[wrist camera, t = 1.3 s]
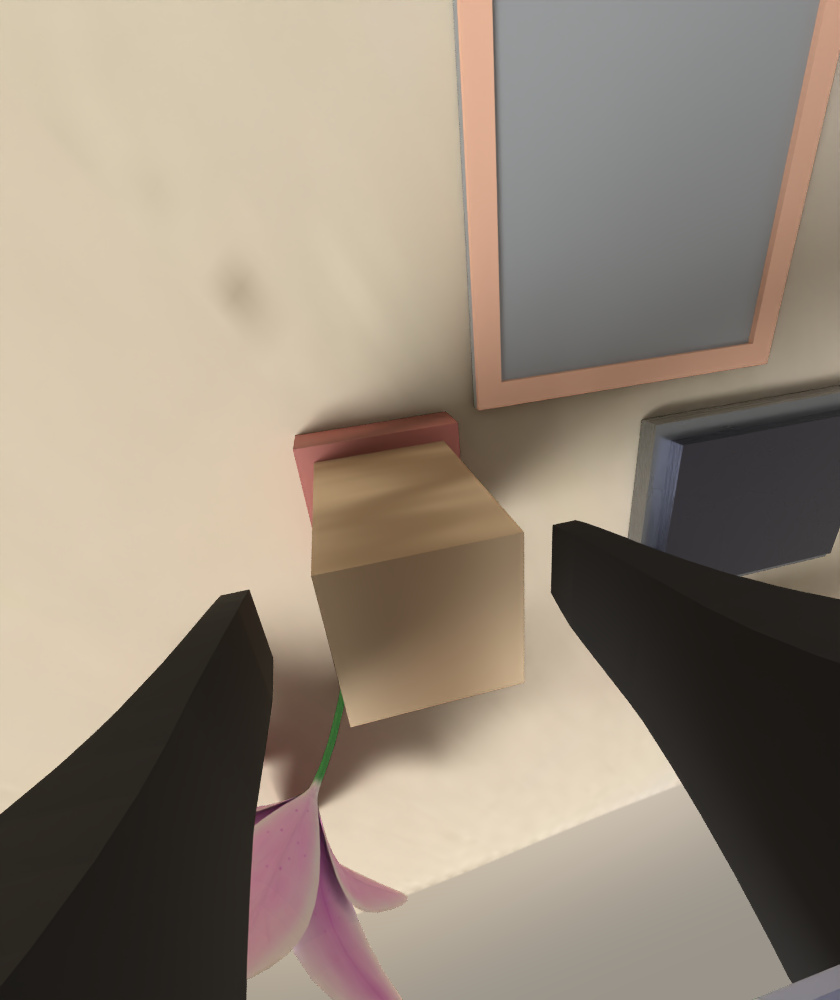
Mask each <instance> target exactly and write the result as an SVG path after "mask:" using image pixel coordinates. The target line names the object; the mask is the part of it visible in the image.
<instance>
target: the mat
mask: <svg viewBox="0 0 840 1000" xmlns="http://www.w3.org/2000/svg"><path fill="white" fill-rule="evenodd" d="M453 10H454V29H455V49H456V68H457V87H458V106H459V125H460V144H461V163H462V182H463V201H464V220H465V240H466V259H467V278H468V297H469V316H470V335H471V354H472V373H473V392H474V407H475V408H476V409H478V410H485V409H492V408H498V407H504V406H510V405H516V404H522V403H528V402H535V401H541V400H547V399H553V398H559V397H565V396H571V395H578V394H584V393H590V392H596V391H602V390H608V389H615V388H621V387H627V386H633V385H639V384H645V383H651V382H658V381H664V380H670V379H676V378H682V377H688V376H694V375H701V374H707V373H713V372H719V371H725V370H731V369H737V368H744V367H750V366H756V365H762V364H767V362H768V357H769V353H770V349H771V344H772V340H773V336H774V332H775V327H776V323H777V319H778V314H779V310H780V306H781V301H782V297H783V293H784V289H785V284H786V280H787V276H788V271H789V267H790V263H791V258H792V254H793V250H794V246H795V241H796V237H797V233H798V228H799V224H800V220H801V215H802V211H803V207H804V203H805V198H806V194H807V190H808V185H809V181H810V177H811V172H812V168H813V164H814V160H815V155H816V151H817V147H818V142H819V138H820V134H821V130H822V125H823V121H824V117H825V112H826V108H827V104H828V99H829V95H830V91H831V87H832V82H833V78H834V74H835V69H836V65H837V61H838V56H839V52H840V0H453Z"/></svg>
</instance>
